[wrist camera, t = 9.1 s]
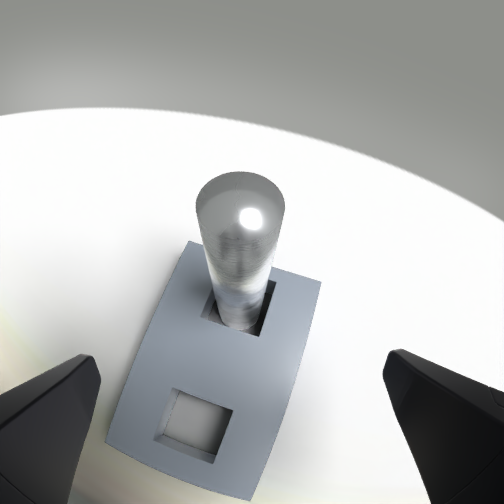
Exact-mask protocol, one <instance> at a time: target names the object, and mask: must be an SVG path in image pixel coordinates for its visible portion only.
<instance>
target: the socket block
mask: <svg viewBox="0 0 504 504" xmlns="http://www.w3.org/2000/svg"><path fill="white" fill-rule="evenodd" d="M320 286H321V282H320V281H317V280H314V279H310V278H307V277H304V276H300V275H297V274H294V273H291V272H287V271H284V270H281V269H278V268H274V267H271V270H270V274H269V278H268V282H267V286H266V290H265V292H266V293H270V294H273V295H272V298H271V302H270V305H269V308H268V311H267V314H266V317H265V320H264V323H263V326H262V329H261V332H260V335H259V337H257V336H254V335H251V334H248V333H245V332H242V331H239V330H236V329H233V328H230V327H227V326H224V325H221V324H219V323H216V322H213V321H210V320H207V319H208V316H209V314H210V311H211V309H212V306H213V303H214V301H215V294H214V290H213V285H212V281H211V277H210V273H209V268H208V264H207V259H206V255H205V251H204V246H203V245H201V244H197V243H194V242H191V241H188V243H187V245H186V247H185V249H184V251H183V253H182V255H181V257H180V259H179V261H178V264H177V266H176V268H175V270H174V272H173V274H172V276H171V278H170V280H169V282H168V284H167V287H166V289H165V291H164V293H163V295H162V297H161V300H160V302H159V304H158V306H157V308H156V311H155V313H154V315H153V317H152V320H151V322H150V324H149V327H148V329H147V331H146V334H145V336H144V338H143V341H142V343H141V345H140V348H139V350H138V353H137V355H136V358H135V360H134V363H133V365H132V368H131V370H130V373H129V375H128V378H127V380H126V383H125V386H124V388H123V391H122V394H121V396H120V399H119V402H118V405H117V407H116V410H115V413H114V416H113V419H112V422H111V425H110V428H109V431H108V434H107V437H106V440H105V443H107V444H108V445H110V446H112V447H114V448H115V449H117V450H119V451H121V452H122V453H124V454H126V455H128V456H130V457H132V458H134V459H135V460H137V461H139V462H141V463H143V464H145V465H147V466H150V467H152V468H154V469H156V470H158V471H160V472H163V473H165V474H167V475H170V476H172V477H175V478H177V479H180V480H182V481H185V482H187V483H190V484H193V485H196V486H198V487H201V488H204V489H207V490H210V491H214V492H217V493H220V494H224V495H227V496H231V497H235V498H239V499H243V500H247V501H250V500H251V498H252V496H253V494H254V491H255V489H256V487H257V484H258V482H259V480H260V477H261V475H262V472H263V470H264V467H265V465H266V462H267V460H268V457H269V455H270V452H271V450H272V447H273V444H274V442H275V439H276V436H277V433H278V431H279V428H280V425H281V422H282V419H283V416H284V413H285V410H286V407H287V404H288V401H289V398H290V395H291V392H292V389H293V386H294V383H295V379H296V376H297V373H298V369H299V366H300V363H301V359H302V356H303V352H304V349H305V345H306V341H307V338H308V334H309V330H310V327H311V323H312V319H313V315H314V311H315V307H316V303H317V299H318V294H319V290H320ZM179 391H183V392H185V393H187V394H190V395H192V396H195V397H198V398H200V399H203V400H205V401H208V402H211V403H214V404H217V405H219V406H222V407H225V408H228V409H231V410H233V413H232V415H231V418H230V421H229V424H228V426H227V429H226V432H225V434H224V437H223V440H222V442H221V445H220V447H219V450H218V453H217V455H213V454H210V453H207V452H205V451H202V450H199V449H196V448H194V447H191V446H189V445H186V444H184V443H181V442H179V441H176V440H174V439H172V438H169V437H167V436H165V435H163V433H164V431H165V428H166V425H167V423H168V420H169V417H170V415H171V412H172V409H173V407H174V404H175V401H176V399H177V396H178V393H179Z"/></svg>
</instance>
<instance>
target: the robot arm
mask: <svg viewBox="0 0 504 504" xmlns="http://www.w3.org/2000/svg"><path fill="white" fill-rule="evenodd" d="M383 380H384V382H385V385H386V388H387V391H388V394H389V397H390V400H391V403H392V407H393V410H394V412H395V415H396V418H397V420H398V422H399V425H400V427H401V429H402V431H403V434H404V436H405V438H406V441H407V443H408V445H409V448H410V450H411V453H412V455H413V457H414V460H415V462H416V465H417V467H418V470H419V472H420V475H421V478H422V480H423V483H424V486H425V488H426V491H427V494H428V496H429V499H430V502H431V504H504V392H502V391H499V390H497V389H494V388H492V387H488V386H487V385H484V384H482V383H480V382H477V381H475V380H472V379H470V378H468V377H465V376H463V375H461V374H458V373H456V372H454V371H451V370H449V369H447V368H444V367H442V366H440V365H437V364H435V363H433V362H431V361H428V360H426V359H424V358H421V357H419V356H417V355H415V354H412V353H410V352H408V351H406V350H404V349H397V350H392V351H390V352H389V354H388V357H387V360H386V363H385V366H384V369H383ZM100 384H101V377H100V374H99V371H98V368H97V365H96V363H95V360H94V358H93V357H92V356H90V355H85V354H80V355H78V356H76V357H74V358H72V359H70V360H68V361H66V362H64V363H62V364H60V365H58V366H56V367H54V368H52V369H50V370H48V371H46V372H44V373H43V374H41V375H39V376H37V377H35V378H33V379H31V380H29V381H27V382H25V383H23V384H21V385H19V386H17V387H15V388H13V389H11V390H9V391H7V392H5V393H3V394H1V395H0V504H67V502H68V498H69V494H70V490H71V486H72V482H73V478H74V475H75V471H76V468H77V464H78V461H79V457H80V454H81V451H82V448H83V445H84V441H85V438H86V435H87V432H88V430H89V427H90V423H91V420H92V416H93V412H94V408H95V403H96V399H97V395H98V391H99V388H100Z"/></svg>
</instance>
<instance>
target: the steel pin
mask: <svg viewBox="0 0 504 504" xmlns="http://www.w3.org/2000/svg"><path fill="white" fill-rule="evenodd" d="M284 211H285V202H284V198H283V195H282V193H281V191H280V190H279V188H278V187H277V186H276V185H275V184H274V183H273V182H271V181H270V180H268V179H267V178H265V177H263V176H261V175H258V174H255V173H250V172H230V173H226V174H222V175H220V176H217V177H215V178H214V179H212V180H211V181H209V182H208V183H207V184H206V185H205V186H204V187H203V188H202V189H201V191H200V192H199V194H198V197H197V200H196V213H197V218H198V223H199V227H200V232H201V237H202V241H203V246H204V251H205V255H206V259H207V264H208V268H209V273H210V277H211V281H212V285H213V290H214V294H215V298H216V302H217V306H218V310H219V314H220V317H221V320H222V321H223V323H224V324H225V325H226V326H228V327H230V328H233V329H236V330H245V329H248V328H250V327H252V326H253V325H254V324H255V323H256V321H257V320H258V318H259V314H260V310H261V306H262V302H263V298H264V294H265V290H266V286H267V282H268V278H269V274H270V270H271V266H272V262H273V258H274V254H275V250H276V245H277V241H278V237H279V233H280V229H281V224H282V220H283V216H284Z"/></svg>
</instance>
